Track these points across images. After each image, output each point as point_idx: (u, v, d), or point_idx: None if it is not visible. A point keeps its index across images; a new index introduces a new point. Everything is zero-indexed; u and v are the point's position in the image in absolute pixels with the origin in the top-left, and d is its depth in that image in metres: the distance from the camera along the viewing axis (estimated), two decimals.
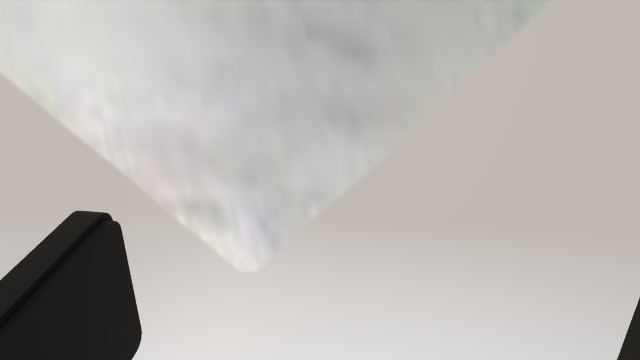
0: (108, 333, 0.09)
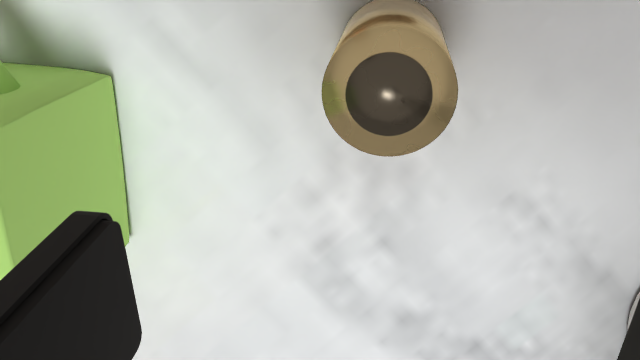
0: (108, 333, 0.09)
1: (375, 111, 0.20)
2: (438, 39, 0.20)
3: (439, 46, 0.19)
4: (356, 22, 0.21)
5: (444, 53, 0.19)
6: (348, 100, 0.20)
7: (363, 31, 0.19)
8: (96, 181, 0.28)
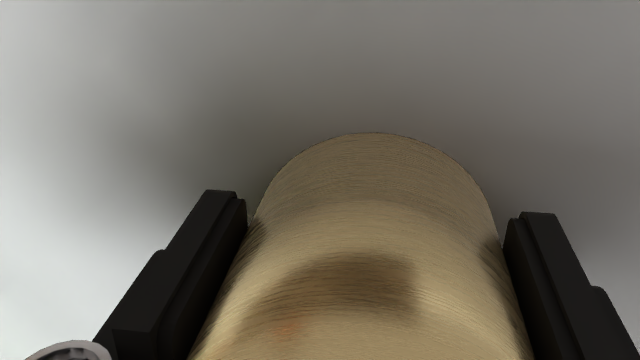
0: None
1: None
2: None
3: None
4: (252, 273, 0.07)
5: None
6: None
7: None
8: None
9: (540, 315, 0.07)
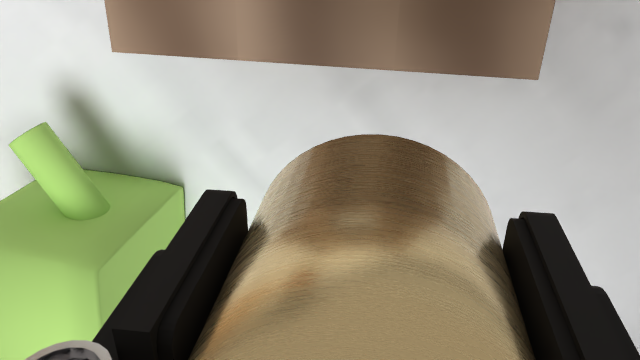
0: None
1: None
2: None
3: None
4: (253, 275, 0.07)
5: None
6: None
7: None
8: None
9: (540, 315, 0.07)
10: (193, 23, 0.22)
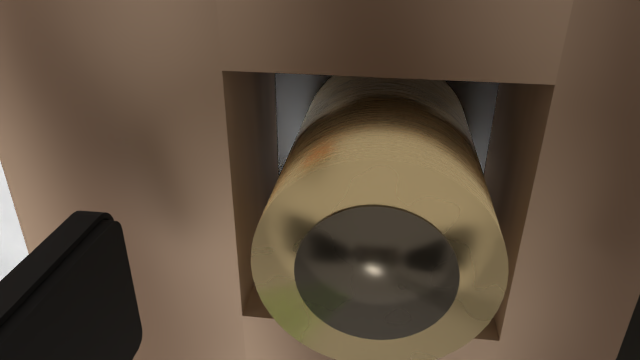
0: (109, 332, 0.09)
1: (351, 300, 0.11)
2: (468, 168, 0.10)
3: (474, 196, 0.09)
4: (320, 119, 0.12)
5: (484, 209, 0.09)
6: (300, 281, 0.11)
7: (323, 166, 0.09)
8: None
9: None
10: None
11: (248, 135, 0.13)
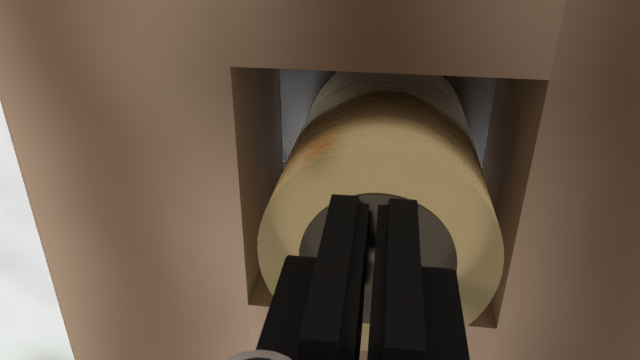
0: (362, 309, 0.10)
1: None
2: (466, 159, 0.11)
3: (471, 185, 0.10)
4: (323, 113, 0.13)
5: (480, 198, 0.10)
6: None
7: (327, 156, 0.10)
8: None
9: None
10: None
11: (254, 130, 0.14)
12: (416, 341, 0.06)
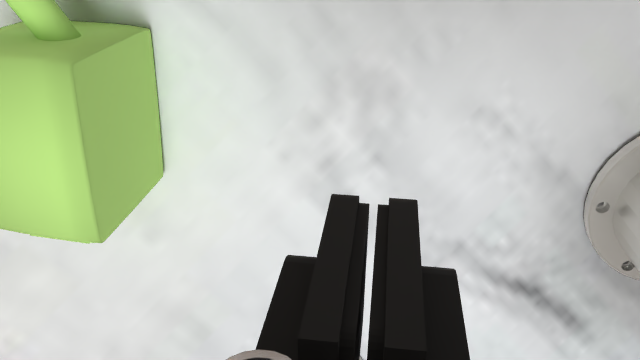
0: (362, 309, 0.10)
1: None
2: None
3: None
4: None
5: None
6: None
7: None
8: (140, 117, 0.34)
9: None
10: None
11: None
12: (416, 341, 0.06)
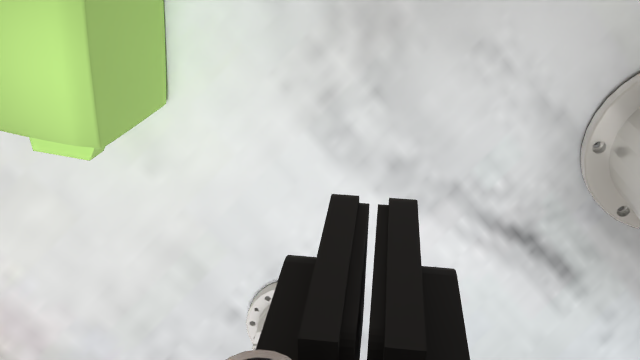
0: (362, 309, 0.10)
1: None
2: None
3: None
4: None
5: None
6: None
7: None
8: (146, 35, 0.34)
9: None
10: None
11: None
12: (416, 341, 0.06)
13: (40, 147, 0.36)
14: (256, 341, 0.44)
